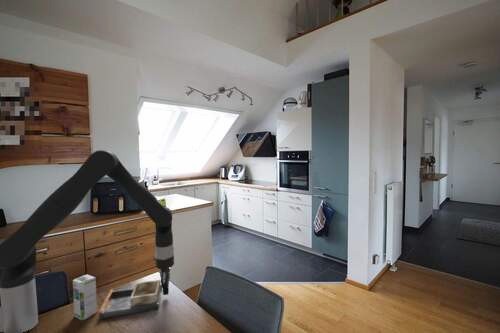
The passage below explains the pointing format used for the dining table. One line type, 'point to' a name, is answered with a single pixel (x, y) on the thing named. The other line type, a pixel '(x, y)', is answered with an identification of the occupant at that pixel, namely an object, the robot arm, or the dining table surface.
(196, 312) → the dining table surface
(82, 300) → the syrup box
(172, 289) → the dining table surface
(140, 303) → the box
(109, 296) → the bay
